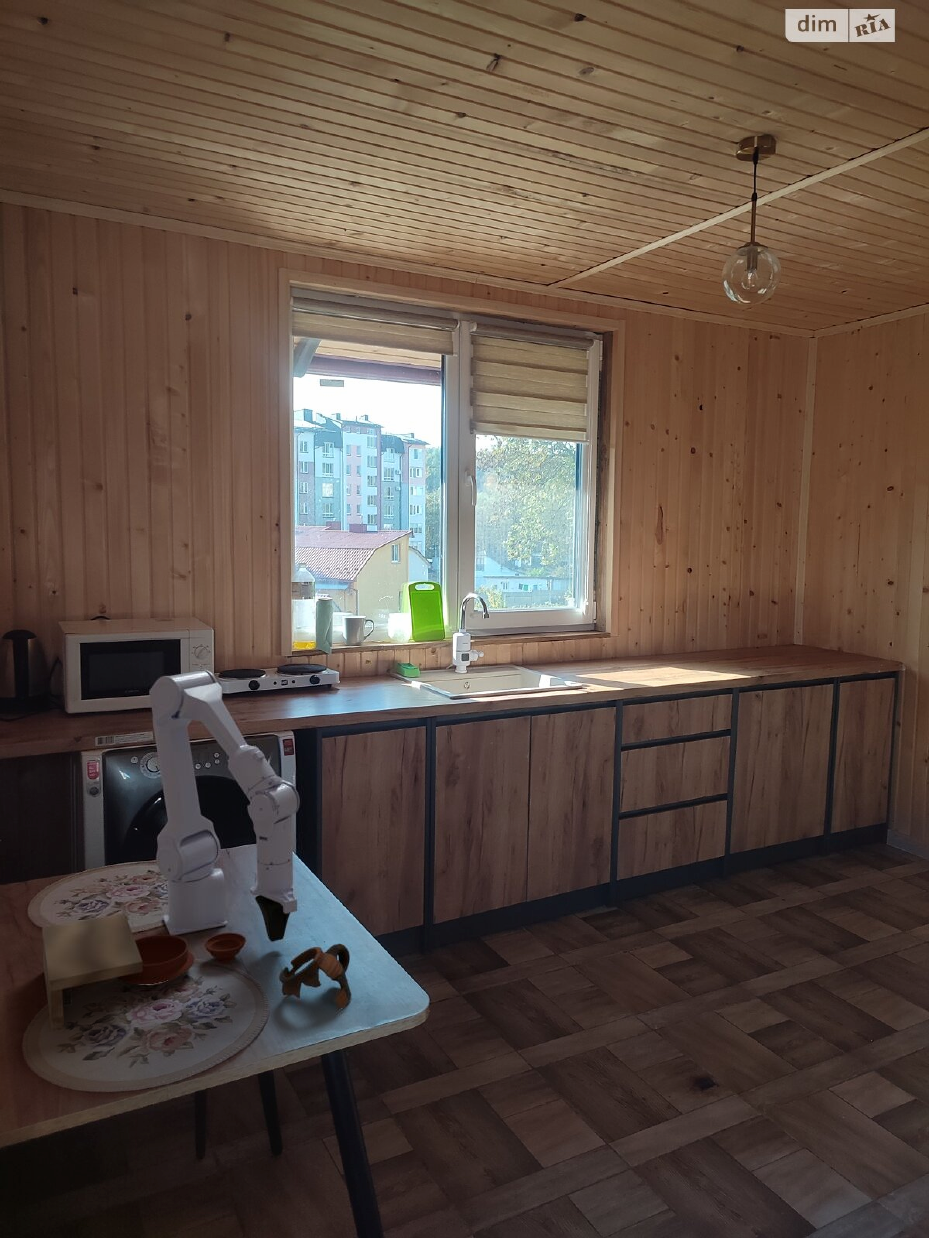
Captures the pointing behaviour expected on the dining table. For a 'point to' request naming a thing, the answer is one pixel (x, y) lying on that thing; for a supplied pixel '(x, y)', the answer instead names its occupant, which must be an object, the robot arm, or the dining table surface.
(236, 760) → the robot arm
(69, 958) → the low shelf
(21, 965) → the dining table surface
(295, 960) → the broken clay jug rim
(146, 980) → the pottery
